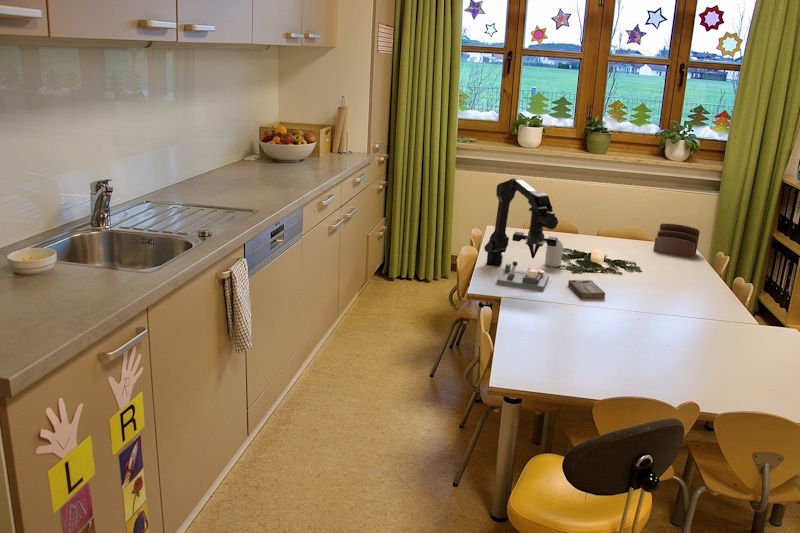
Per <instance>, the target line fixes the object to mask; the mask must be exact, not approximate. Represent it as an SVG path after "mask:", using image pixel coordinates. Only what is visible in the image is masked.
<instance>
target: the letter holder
mask: <svg viewBox="0 0 800 533" xmlns="http://www.w3.org/2000/svg"><path fill="white" fill-rule="evenodd" d="M699 238H700V230H699V229H698V228H696V227H691V226H690V225H683V224H679V223H678V224H677V223H676V224H675V223H660V225H659V230H658V231H657V235H656V237H655V239H654V244H653V250H652V251H653V252H656V253H657V252H658V253H663V254H666V255H667V254H669V255H675V256H680V257H685V258H689V259H693V258H694V257H695V255H696V254H697V249H698V246H699V245H698V244H699Z"/></svg>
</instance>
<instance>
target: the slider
mask: <svg viewBox="0 0 800 533" xmlns="http://www.w3.org/2000/svg"><path fill="white" fill-rule="evenodd" d="M504 269H505V271H507V272H510V270H511V269H512V263H506V265H505V267H504Z"/></svg>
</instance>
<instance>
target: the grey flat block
mask: <svg viewBox="0 0 800 533" xmlns="http://www.w3.org/2000/svg"><path fill="white" fill-rule="evenodd" d="M567 286H568V287H569V288H570V289H571V290H572V291H573V293H575V294H576V295H577V296H578V297H579V298H580V299H581V300H605V298H606V292H605V291H604V290H603V289H601V288H600V287H599V286H598V285H597V284H596V283H595V282H594V281H593V280H592V279H583V280H581V279H579V280H578V279H570V280H568V284H567Z"/></svg>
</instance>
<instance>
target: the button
mask: <svg viewBox="0 0 800 533" xmlns="http://www.w3.org/2000/svg"><path fill="white" fill-rule="evenodd" d="M526 271H527V278H534V279H537V273H538V271H537V270H533V269H529V270H528V269H527V270H526Z"/></svg>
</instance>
